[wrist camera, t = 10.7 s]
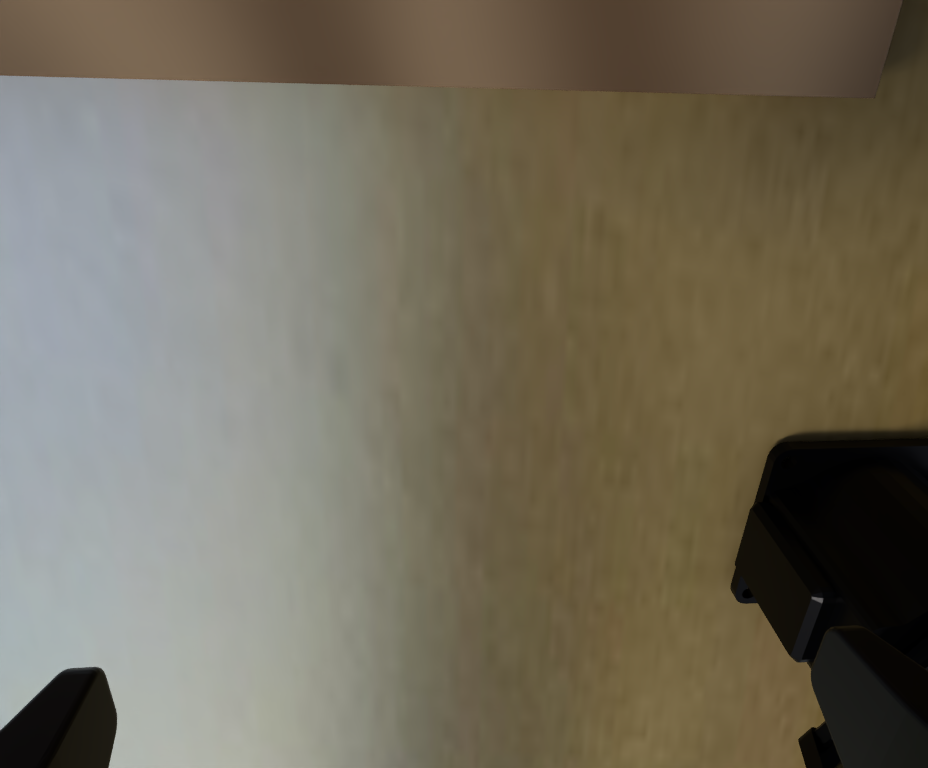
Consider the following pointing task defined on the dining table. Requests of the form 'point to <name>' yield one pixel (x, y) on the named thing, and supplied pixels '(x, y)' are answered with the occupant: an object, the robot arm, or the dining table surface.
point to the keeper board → (464, 43)
